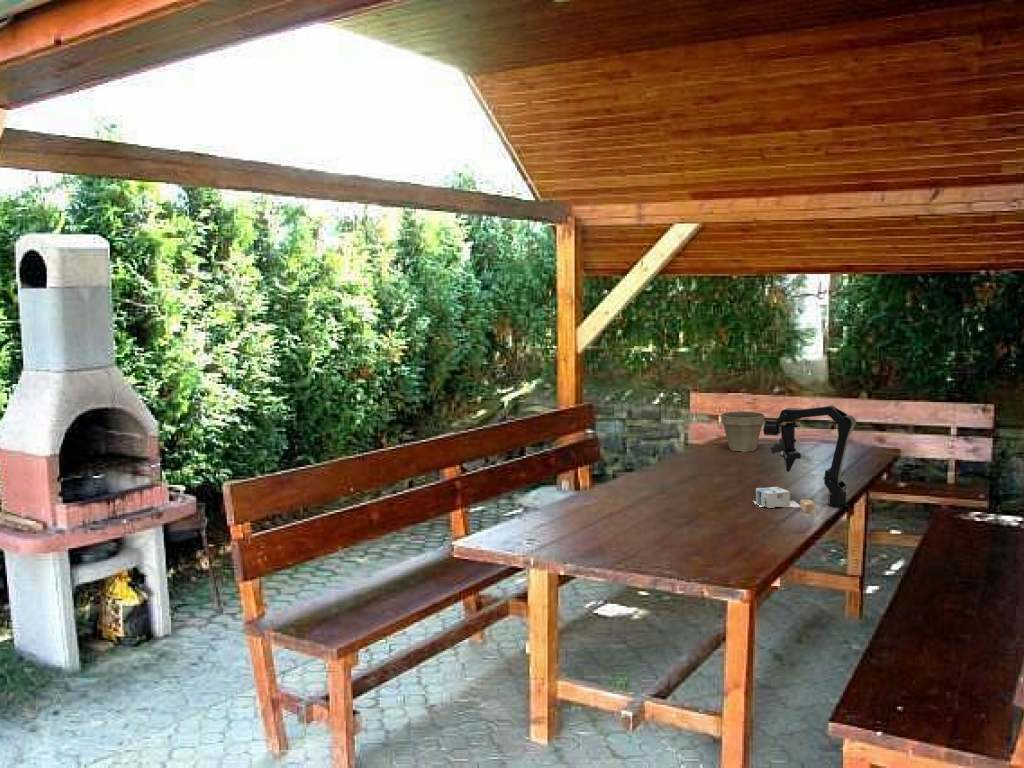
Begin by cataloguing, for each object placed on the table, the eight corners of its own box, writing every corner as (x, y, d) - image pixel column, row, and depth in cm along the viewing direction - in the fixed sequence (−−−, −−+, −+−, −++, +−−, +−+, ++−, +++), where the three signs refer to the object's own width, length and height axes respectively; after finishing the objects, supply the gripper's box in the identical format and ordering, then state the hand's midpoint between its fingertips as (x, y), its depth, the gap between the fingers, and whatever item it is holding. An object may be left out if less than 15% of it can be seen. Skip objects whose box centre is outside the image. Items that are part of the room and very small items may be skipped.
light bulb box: (768, 493, 385) (755, 487, 396) (768, 508, 386) (755, 503, 397) (790, 491, 388) (776, 486, 399) (790, 506, 389) (776, 500, 399)
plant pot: (751, 455, 517) (751, 417, 515) (713, 451, 534) (713, 414, 532) (771, 449, 535) (772, 413, 533) (734, 445, 552) (734, 410, 550)
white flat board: (793, 501, 400) (793, 500, 400) (801, 507, 388) (801, 506, 388) (752, 502, 400) (752, 501, 400) (759, 508, 389) (759, 507, 389)
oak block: (815, 513, 377) (809, 508, 386) (815, 504, 377) (809, 499, 386) (805, 513, 378) (800, 509, 387) (805, 504, 377) (800, 499, 386)
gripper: (764, 433, 409) (764, 467, 411) (775, 440, 391) (775, 475, 392) (788, 433, 409) (788, 467, 410) (801, 439, 390) (801, 475, 392)
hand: (787, 471), depth 401 cm, fingers closed
